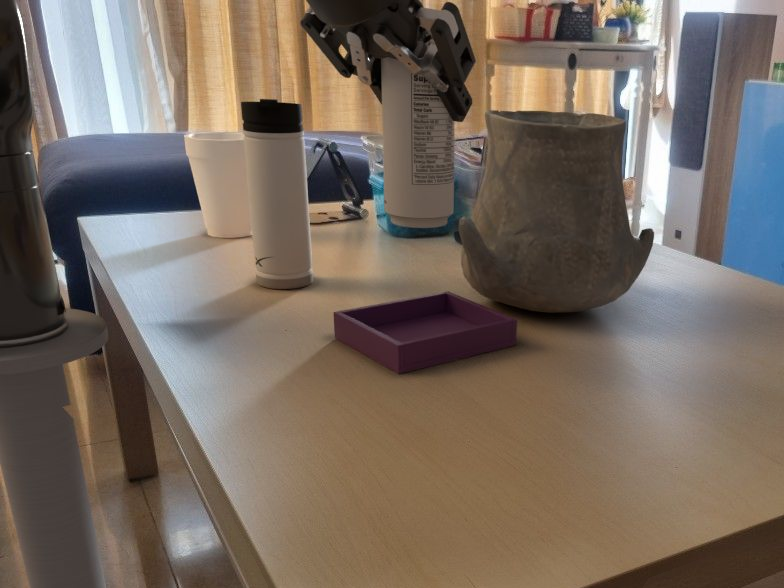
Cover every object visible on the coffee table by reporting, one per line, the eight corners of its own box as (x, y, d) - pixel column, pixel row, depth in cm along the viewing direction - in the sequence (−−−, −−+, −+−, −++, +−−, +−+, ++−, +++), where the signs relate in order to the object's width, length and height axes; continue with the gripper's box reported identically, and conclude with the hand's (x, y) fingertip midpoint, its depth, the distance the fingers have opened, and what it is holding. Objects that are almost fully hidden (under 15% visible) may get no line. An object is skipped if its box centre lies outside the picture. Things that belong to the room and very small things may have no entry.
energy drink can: (426, 213, 77) (426, 36, 71) (467, 225, 74) (470, 39, 68) (371, 219, 74) (366, 33, 68) (410, 232, 70) (408, 36, 64)
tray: (398, 374, 72) (398, 345, 71) (334, 338, 79) (333, 311, 78) (516, 345, 80) (517, 319, 79) (448, 315, 88) (448, 291, 86)
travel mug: (253, 291, 92) (235, 98, 84) (259, 275, 98) (243, 93, 90) (312, 290, 93) (300, 100, 85) (314, 274, 99) (303, 96, 91)
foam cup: (279, 235, 117) (271, 138, 112) (216, 243, 111) (205, 141, 106) (244, 223, 123) (236, 130, 118) (183, 230, 117) (171, 133, 112)
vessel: (604, 272, 107) (617, 107, 99) (669, 327, 87) (692, 127, 79) (434, 275, 102) (434, 101, 94) (463, 334, 82) (466, 121, 74)
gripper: (438, -107, 55) (520, 83, 69) (276, -103, 61) (382, 72, 75) (389, -25, 53) (484, 154, 67) (226, -28, 59) (345, 137, 73)
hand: (430, 110), depth 71 cm, fingers closed on energy drink can, 6 cm apart
